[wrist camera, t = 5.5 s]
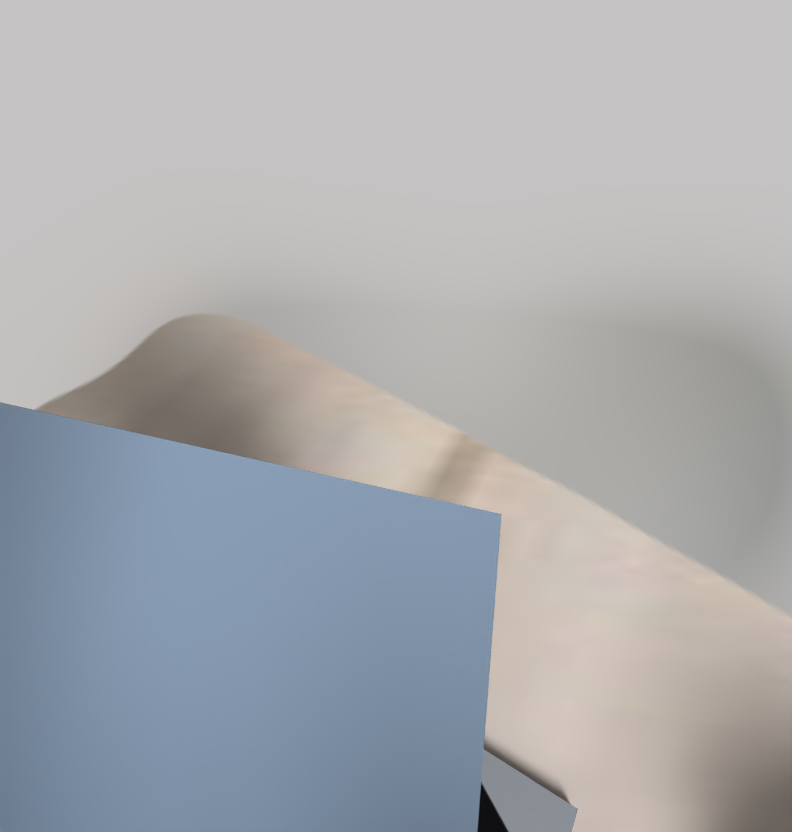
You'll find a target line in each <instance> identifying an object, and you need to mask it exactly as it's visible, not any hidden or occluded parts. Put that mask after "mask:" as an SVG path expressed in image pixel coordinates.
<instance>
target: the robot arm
mask: <svg viewBox="0 0 792 832" xmlns="http://www.w3.org/2000/svg"><path fill="white" fill-rule="evenodd" d="M477 832H509V831H508V829H507V827H506V825H505V823H504V822H503V820H502V818H501V816H500V814H499V812H498V811H497V809H496V807H495V805H494V803H493V802H492V800H491V798H490V796H489V794H488V793H487V791H486V789H485V787H484V785H483V784H482V782H481V790H480V803H479V817H478V830H477Z"/></svg>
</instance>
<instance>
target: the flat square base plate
mask: <svg viewBox="0 0 792 832" xmlns="http://www.w3.org/2000/svg"><path fill="white" fill-rule="evenodd" d="M481 782H482V784H483V785H484V787H485V789H486V791H487V793H488V794H489V796H490V798H491V800H492V802H493V803H494V805H495V807H496V809H497V811H498V812H499V814H500V816H501V818H502V820H503V822H504V823H505V825H506V827H507V829H508V831H509V832H572V828H573V825H574V821H575V817H576V814H577V810H578V809H577V808H575V807H574V806H572V805H571V804H569V803H568V802H566V801H564V800H563V799H561V798H560V797H558V796H557V795H555V794H553V793H552V792H550V791H549V790H547V789H546V788H544V787H542V786H541V785H539V784H538V783H536V782H534V781H533V780H531V779H530V778H528V777H527V776H525V775H523V774H522V773H520V772H519V771H517V770H516V769H514V768H512V767H511V766H509V765H508V764H506V763H505V762H503V761H501V760H500V759H498V758H497V757H495V756H494V755H492V754H490V753H489V752H487V751H486V750H483V764H482V777H481Z"/></svg>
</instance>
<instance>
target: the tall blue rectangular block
mask: <svg viewBox="0 0 792 832" xmlns="http://www.w3.org/2000/svg"><path fill="white" fill-rule="evenodd" d="M500 525H501V514H498V513H493V512H489V511H484V510H480V509H475V508H471V507H466V506H462V505H457V504H453V503H448V502H444V501H439V500H435V499H430V498H426V497H421V496H417V495H413V494H408V493H404V492H399V491H395V490H390V489H386V488H381V487H377V486H372V485H368V484H363V483H359V482H354V481H350V480H345V479H341V478H336V477H332V476H327V475H323V474H318V473H314V472H309V471H305V470H300V469H296V468H292V467H287V466H283V465H278V464H274V463H269V462H265V461H260V460H256V459H251V458H247V457H242V456H238V455H233V454H229V453H224V452H220V451H215V450H211V449H206V448H202V447H197V446H193V445H188V444H184V443H179V442H175V441H171V440H166V439H162V438H157V437H153V436H148V435H144V434H139V433H135V432H130V431H126V430H121V429H117V428H112V427H108V426H103V425H99V424H94V423H90V422H85V421H81V420H76V419H72V418H67V417H63V416H58V415H54V414H50V413H45V412H41V411H36V410H32V409H27V408H22V407H18V406H13V405H9V404H5V403H0V832H477V830H478V817H479V803H480V790H481V777H482V764H483V750H484V737H485V724H486V711H487V697H488V684H489V671H490V658H491V644H492V631H493V618H494V605H495V591H496V578H497V565H498V552H499V538H500Z"/></svg>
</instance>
